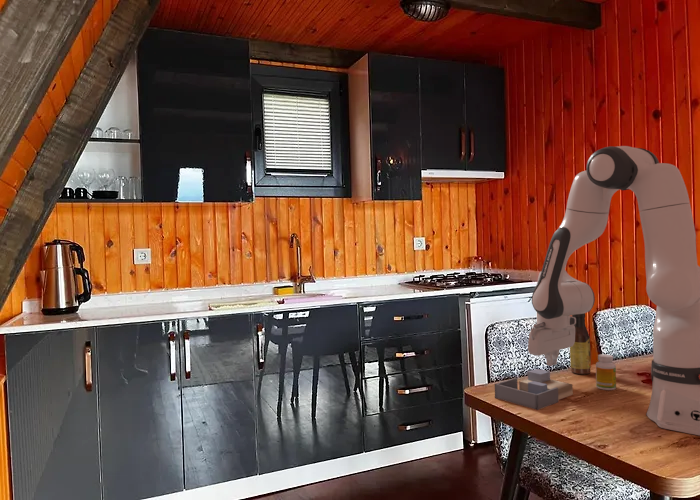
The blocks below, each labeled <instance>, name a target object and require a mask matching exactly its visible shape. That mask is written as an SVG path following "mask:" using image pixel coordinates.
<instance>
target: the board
mask: <svg viewBox="0 0 700 500" xmlns="http://www.w3.org/2000/svg"><path fill="white" fill-rule="evenodd" d="M528 382H531V380H528V378H526V379H523V380H520V381H518V390H522V391H526V392H528ZM543 383H544V384H547V390H550V389H553V388H556V387H557V388H558V401H559V400H562V399H564V398H567V397H570V396H572V395H573V394H574V393H573V389H574V388H573V387H574V386H573V384H572V383H570V382H564V381H559V380H555V379H552V378H550V380H549V381H546V382H543Z"/></svg>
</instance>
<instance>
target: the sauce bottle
mask: <svg viewBox="0 0 700 500" xmlns="http://www.w3.org/2000/svg"><path fill="white" fill-rule="evenodd" d="M571 316H572V317H575V318H576V324H574V326H575V343H574V345H573V346H572V347H569V362H570V364H569V365H570V371H571V373H573V374H575V375H588V374H590V373H591V368H592V361H591V343H590V342H591V341H590V340H591V337H590V335H589V332H588V328H587V327H586V313H583V314H576V315H571Z"/></svg>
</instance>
